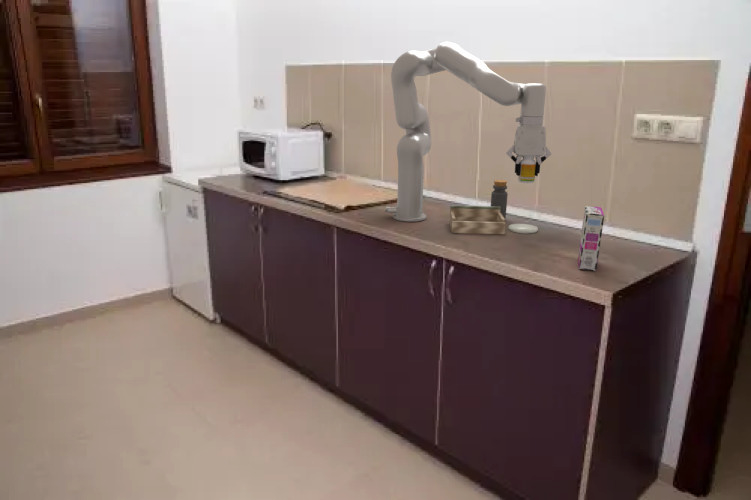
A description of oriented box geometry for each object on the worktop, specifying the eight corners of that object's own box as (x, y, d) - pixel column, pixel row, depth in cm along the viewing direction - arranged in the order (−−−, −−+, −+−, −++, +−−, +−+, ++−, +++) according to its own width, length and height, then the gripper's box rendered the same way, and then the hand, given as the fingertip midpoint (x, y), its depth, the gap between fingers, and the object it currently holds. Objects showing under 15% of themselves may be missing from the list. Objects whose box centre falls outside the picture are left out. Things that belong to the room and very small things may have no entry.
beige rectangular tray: (452, 232, 201) (453, 213, 199) (449, 223, 213) (450, 205, 212) (504, 234, 200) (506, 215, 198) (498, 224, 213) (500, 206, 211)
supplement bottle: (537, 183, 199) (539, 154, 197) (523, 183, 198) (525, 154, 195) (529, 180, 204) (531, 152, 202) (515, 180, 203) (517, 152, 200)
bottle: (505, 222, 216) (508, 182, 212) (489, 221, 217) (492, 181, 213) (505, 219, 222) (508, 179, 217) (489, 218, 223) (492, 179, 218)
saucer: (511, 233, 202) (511, 230, 201) (506, 226, 211) (506, 223, 211) (540, 234, 201) (540, 231, 201) (534, 226, 211) (534, 224, 210)
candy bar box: (597, 272, 163) (605, 215, 158) (578, 270, 164) (585, 213, 160) (595, 260, 173) (602, 206, 169) (577, 258, 175) (584, 205, 170)
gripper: (507, 122, 192) (503, 176, 197) (560, 122, 191) (554, 177, 197) (503, 120, 199) (500, 173, 204) (554, 121, 198) (549, 174, 204)
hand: (526, 174), depth 200 cm, fingers closed on supplement bottle, 5 cm apart
